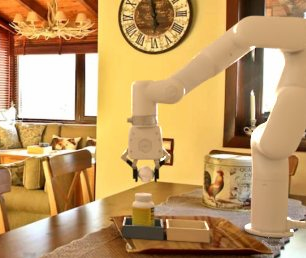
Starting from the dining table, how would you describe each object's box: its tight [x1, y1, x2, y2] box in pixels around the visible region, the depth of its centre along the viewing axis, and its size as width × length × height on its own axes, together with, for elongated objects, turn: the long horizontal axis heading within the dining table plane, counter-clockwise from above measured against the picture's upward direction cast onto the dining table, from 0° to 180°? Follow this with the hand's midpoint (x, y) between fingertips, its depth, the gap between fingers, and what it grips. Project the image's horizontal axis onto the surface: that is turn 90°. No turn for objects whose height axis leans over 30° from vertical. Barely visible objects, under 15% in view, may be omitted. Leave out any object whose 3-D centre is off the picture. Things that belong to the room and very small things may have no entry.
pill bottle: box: [131, 192, 156, 227], centre depth 147 cm, size 6×6×11 cm
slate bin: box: [122, 216, 164, 241], centre depth 147 cm, size 11×10×4 cm
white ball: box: [138, 165, 154, 184], centre depth 156 cm, size 5×5×5 cm
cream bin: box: [165, 218, 211, 244], centre depth 144 cm, size 11×10×4 cm
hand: (146, 180), depth 156 cm, fingers closed on white ball, 5 cm apart
